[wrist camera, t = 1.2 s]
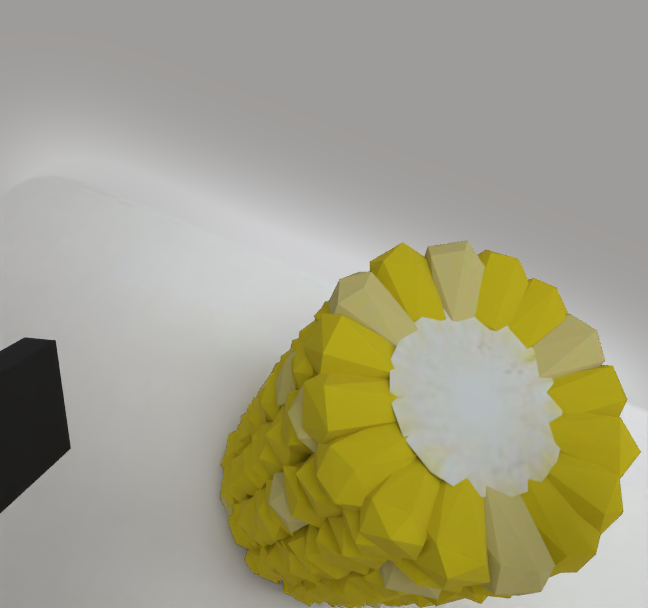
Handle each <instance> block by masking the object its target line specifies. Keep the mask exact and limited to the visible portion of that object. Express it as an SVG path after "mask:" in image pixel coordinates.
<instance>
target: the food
mask: <svg viewBox="0 0 648 608" xmlns="http://www.w3.org/2000/svg"><path fill="white" fill-rule="evenodd" d="M314 317H315V321H313V322H312V323H311V324H309V325H308V326H307V327H305V328H304V329H303V330H301V331H300V333H299V338H298V339H295V340H293V341H292V345H291V349H290V350H289V351H288V352H286V353H285V354H284V355H282V356H281V360H280V362H278V363H276V364H275V366H274V368H273V370H272V372H271V374H270V375H269V377H268V379H267V380H266V381H265V383H264V384H263V385H262V387H261V388H260V391H258V394H257V397H256V398H253V400H252V403H251V404H250V405H249V406H248V410H247V413H245V414H243V415H242V416H241V424H238V428H237V430H236V431H234V432H232V433H230V434H229V436H228V441H227V447H226V452H225V455H224V457H223V460H222V462H221V466H222V467H223V468H224V476H223V481H222V487H221V493H220V494H221V496H220V499H221V501H222V503H223V505H224V507H225V509H226V511H227V513H228V515H229V519H228V522H229V525H230V528H231V531H232V534H233V537H234V540H235V543H236V544H238V545H240V546H242V547H244V548H246V549H248V552H247V554H246V556H245V559H244V560H245V562H246V563H247V564H248V566H249V567H250V569H251V570H252V572H253V573H255V574H258V575H260V576H261V577H263V578H265V579H268V580H270V581H272V582H275V583H277V584H279V582H280V581H281V580H283V585H284V593H286V594H288V595H290V596H292V597H294V598H295V599H297V600H299V601H301V602H303V603H305V604H307V605H308V606H311V605H312V604H313V603H314V602H315V603H318V604H321V603H322V602H323V601H325V602H327V603H328V604H329V605H331V606H332V607H334V606H337V605H338V606H346V607H348V608H353V607H360V608H361V607H362V606H364V605H369V606H372V607H375V608H379V607H380V606H381V605H382V604H384V605H389V606H402V605H405V606H407V605H410V604H413V603H415V604H417V605H418V606H419V607H420V608H422V607H426V606H431V605H435V606H438V605H442V604H445V603H449V602H452V601H456V600H460V599H463V598H467V599H470V600H472V601H475V602H478V603H480V604H482V602H483V601H484V600H485V599H486V597H487V596H493V597H503V598H511V596H512V595H518V596H519V595H525V594H531V593H537V592H541V591H542V589H543V587H544V585H545V584H546V582H547V580H548V578H549V577H551V576H554V575H556V574H559V573H565V572H577V571H579V570H580V569H581V568H582V567H583V566H584V565H585V564H586V563H587V562H588V561H589V560H590V559H591V558H592V557H593V556H594V555H595V554H596V552H597V548H598V543H599V539H600V535H601V534H602V533H603V532H604V531H605V530H606V529H607V528H608V527H609V526H610V525H611V524H612V523H613V522H614V521H615V520H617V519H618V518H619V517H620V516H621V515H622V513H623V504H622V496H621V487H620V478H621V477H622V476H623V475H624V473H625V472H626V471H627V469H628V468H629V467H630V465H631V464H632V463H633V462H634V460H635V459H636V458H637V456H638V455H639V454H640V453H641V451H640V450H639V448H638V446H637V445H636V443H635V441H634V440H633V438H632V436H631V434H630V433H629V431H628V429H627V428H626V426H625V424H624V423H623V421H622V419H621V417H619V416H620V414H621V412H622V410H623V407H624V405H625V403H626V401H627V398H626V395H625V393H624V391H623V388H622V386H621V384H620V381H619V379H618V377H617V375H616V372H615V370H614V367H613V366H608V365H601V364H602V363H603V362H605V359H604V355H603V351H602V347H601V343H600V340H599V336H598V332H597V330H595V329H594V328H592V327H591V326H589V325H587V324H586V323H584V322H583V321H581V320H579V319H578V318H576V317H574V316H573V315H571V314H568V312H567V310H566V307H565V305H564V303H563V301H562V299H561V297H560V295H559V293H558V290H557V288H556V287H554V286H552V285H549V284H547V283H544V282H542V281H540V280H537V279H535V278H532V279H529V280H527V277H526V274H525V272H524V269H523V267H522V265H521V263H520V262H519V260H518V259H517V258H514V257H510V256H506V255H503V254H499V253H496V252H492V251H489V250H485V251H483V252H481V253H480V254H478V255H477V254H476V253H475V251H474V250H473V248H472V247H471V245H470V244H469V242H468V241H461V242H454V243H448V244H441V245H435V246H428V247H427V251H426V254H425V257H424V256H422V255H421V254H419V253H418V252H417V251H415V250H414V249H412V248H411V247H409V246H408V245H406V244H405V243H401V244H399V245H398V246H396V247H394V248H392V249H391V250H389V251H387V252H386V253H384V254H382V255H380V256H379V257H377V258H376V259H374V260H372V261H370V271H369V272H358V273H355V274H352V275H350V276H347V277H345V278H342V279H340V280H339V282H338V284H337V286H336V288H335V290H334V292H333V294H332V296H331V298H330V300H329V301H328V302H327V301H325V303H324V305H323V306H322V308H321V309H320V310H319V311H318V312H317V313H316V314H315V315H314Z"/></svg>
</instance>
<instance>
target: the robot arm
mask: <svg viewBox="0 0 648 608" xmlns="http://www.w3.org/2000/svg"><path fill="white" fill-rule="evenodd" d="M70 449H71V447H70V440H69V433H68V425H67V418H66V411H65V404H64V397H63V390H62V383H61V376H60V369H59V361H58V354H57V347H56V340H46V339H35V338H23V339H21V340H19V341H18V342H16V343H14V344H12V345H10V346H9V347H7V348H5V349H3V350H1V351H0V513H1V512H2V511H3V510H4V509H6V508H7V507H8V506H9V505H10V504H11V503H12V502H13V501H14V500H15V499H16V498H17V497H19V496H20V495H21V494H22V493H23V492H24V491H25V490H26V489H27V488H28V487H29V486H31V485H32V484H33V483H34V482H35V481H36V480H37V479H38V478H39V477H40V476H41V475H42V474H44V473H45V472H46V471H47V470H48V469H49V468H50V467H51V466H52V465H53V464H54V463H56V462H57V461H58V460H59V459H60V458H61V457H62V456H63V455H64V454H65V453H66V452H67V451H69V450H70Z"/></svg>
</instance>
